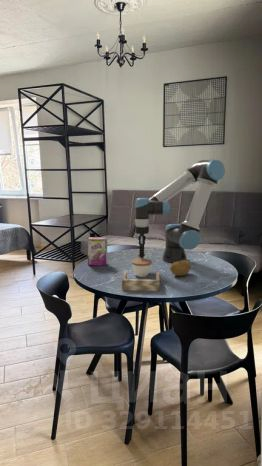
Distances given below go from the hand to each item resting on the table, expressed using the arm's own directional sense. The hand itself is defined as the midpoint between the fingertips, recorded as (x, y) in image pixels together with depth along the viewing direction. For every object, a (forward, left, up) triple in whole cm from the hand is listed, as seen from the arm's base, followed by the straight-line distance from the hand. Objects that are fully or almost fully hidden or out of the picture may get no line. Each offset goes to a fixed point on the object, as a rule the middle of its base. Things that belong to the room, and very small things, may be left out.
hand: (141, 267), depth 180 cm
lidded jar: (0, +9, -2) cm, 9 cm away
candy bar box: (+27, -10, -2) cm, 29 cm away
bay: (0, +25, -2) cm, 25 cm away
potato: (-21, +8, -2) cm, 23 cm away
